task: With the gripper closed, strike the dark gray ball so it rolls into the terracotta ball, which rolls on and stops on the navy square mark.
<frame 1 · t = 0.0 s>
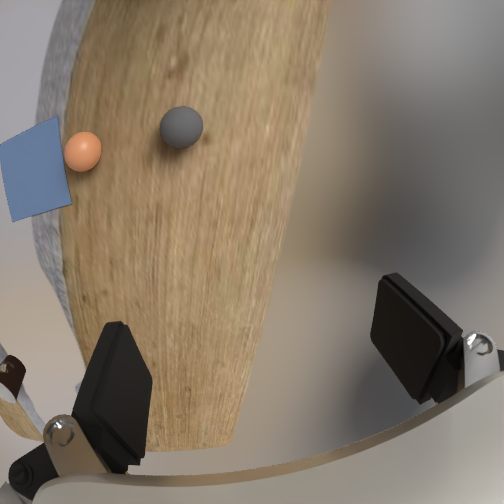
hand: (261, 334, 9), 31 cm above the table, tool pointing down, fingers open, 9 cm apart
coffee mug: (12, 361, 44), on the table
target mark: (30, 171, 31), on the table
object ball: (82, 151, 30), on the table
dark gray ball: (181, 127, 31), on the table
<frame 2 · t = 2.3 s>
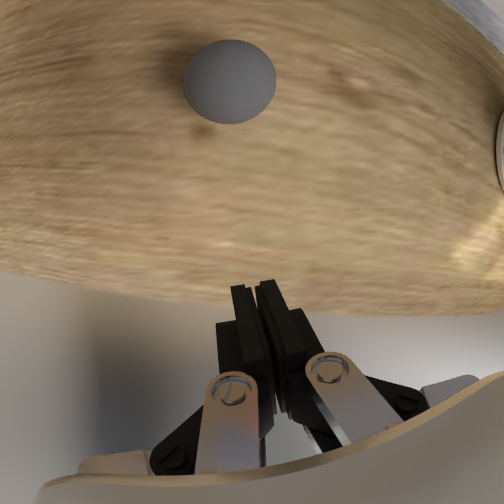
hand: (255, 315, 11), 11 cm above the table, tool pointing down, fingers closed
dark gray ball: (229, 81, 14), on the table
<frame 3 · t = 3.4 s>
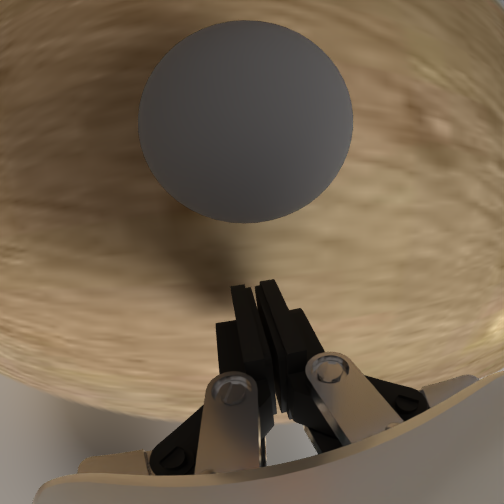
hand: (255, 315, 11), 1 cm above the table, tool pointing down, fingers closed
dark gray ball: (245, 119, 7), on the table
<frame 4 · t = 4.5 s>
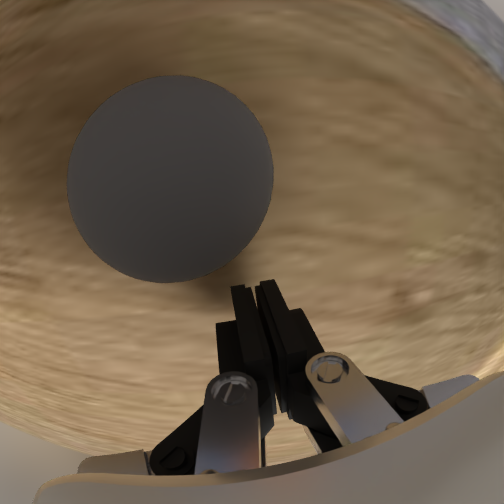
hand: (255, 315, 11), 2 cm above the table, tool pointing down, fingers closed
dark gray ball: (168, 177, 7), on the table
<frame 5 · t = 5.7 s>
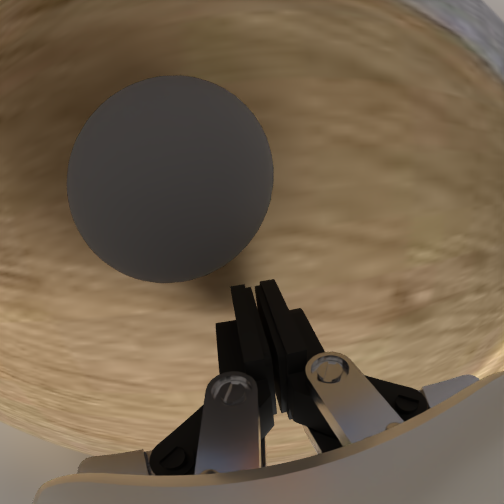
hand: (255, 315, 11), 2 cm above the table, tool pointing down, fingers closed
dark gray ball: (168, 177, 7), on the table
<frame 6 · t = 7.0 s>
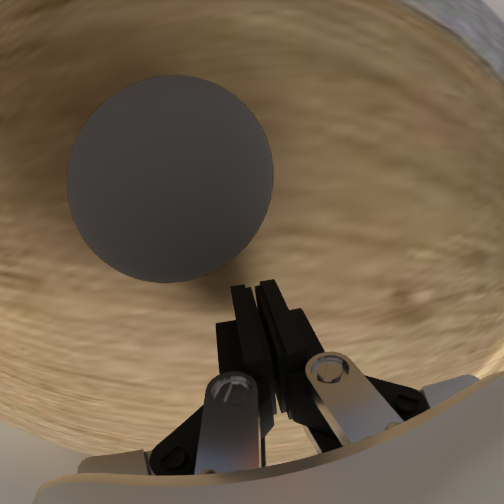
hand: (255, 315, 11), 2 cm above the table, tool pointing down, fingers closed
dark gray ball: (168, 177, 7), on the table
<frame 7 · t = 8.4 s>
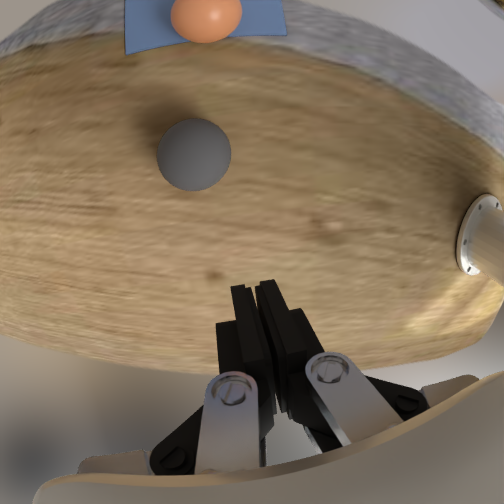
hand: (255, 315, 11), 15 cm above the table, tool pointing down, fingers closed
object ball: (206, 13, 15), on the table
dark gray ball: (193, 154, 19), on the table
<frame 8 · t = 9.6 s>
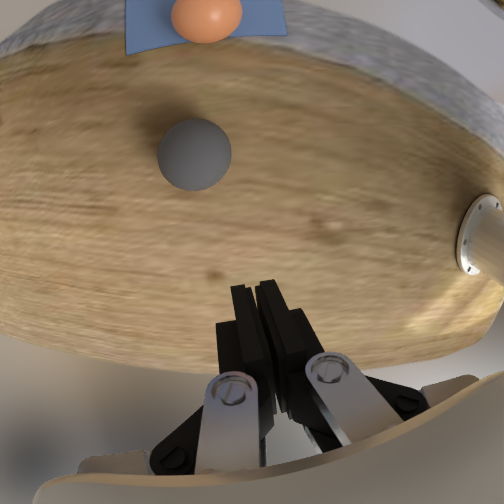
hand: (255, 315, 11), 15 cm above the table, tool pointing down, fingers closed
object ball: (206, 13, 15), on the table
dark gray ball: (194, 154, 19), on the table
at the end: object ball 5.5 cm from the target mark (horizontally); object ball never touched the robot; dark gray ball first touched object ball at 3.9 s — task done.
